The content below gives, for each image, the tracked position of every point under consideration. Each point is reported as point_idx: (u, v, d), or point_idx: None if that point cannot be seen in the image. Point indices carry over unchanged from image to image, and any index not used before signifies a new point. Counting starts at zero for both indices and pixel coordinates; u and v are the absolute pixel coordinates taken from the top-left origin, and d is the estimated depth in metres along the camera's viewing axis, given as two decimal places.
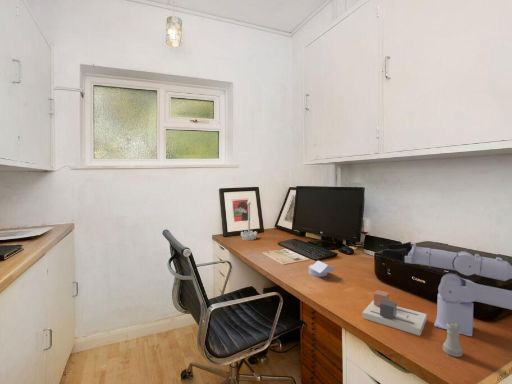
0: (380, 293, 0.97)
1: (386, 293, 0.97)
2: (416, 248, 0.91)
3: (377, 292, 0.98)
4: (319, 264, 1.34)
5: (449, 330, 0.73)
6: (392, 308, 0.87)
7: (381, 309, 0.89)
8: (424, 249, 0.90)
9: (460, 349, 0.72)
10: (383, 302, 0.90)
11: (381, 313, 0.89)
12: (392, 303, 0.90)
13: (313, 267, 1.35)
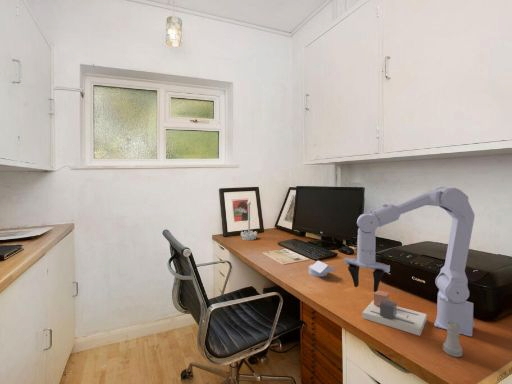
0: (380, 293, 0.97)
1: (386, 293, 0.97)
2: (367, 263, 0.91)
3: (377, 292, 0.98)
4: (319, 264, 1.34)
5: (449, 330, 0.73)
6: (392, 308, 0.87)
7: (381, 309, 0.89)
8: (367, 256, 0.91)
9: (460, 349, 0.72)
10: (383, 302, 0.90)
11: (381, 313, 0.89)
12: (392, 303, 0.90)
13: (313, 267, 1.35)
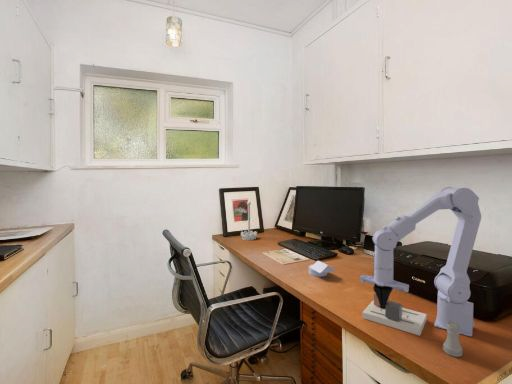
0: None
1: None
2: (385, 281, 0.88)
3: None
4: (319, 264, 1.34)
5: (449, 330, 0.73)
6: (398, 310, 0.86)
7: (386, 310, 0.88)
8: (385, 274, 0.88)
9: (460, 349, 0.72)
10: (388, 303, 0.89)
11: (386, 315, 0.88)
12: (397, 304, 0.88)
13: (313, 267, 1.35)
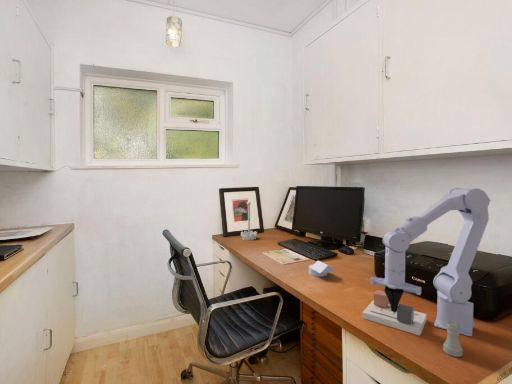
0: (380, 293, 0.97)
1: None
2: (397, 284, 0.85)
3: (377, 292, 0.98)
4: (319, 264, 1.34)
5: (449, 330, 0.73)
6: (410, 313, 0.84)
7: (398, 314, 0.86)
8: (396, 277, 0.85)
9: (460, 349, 0.72)
10: (400, 306, 0.87)
11: (398, 318, 0.86)
12: (409, 307, 0.86)
13: (313, 267, 1.35)
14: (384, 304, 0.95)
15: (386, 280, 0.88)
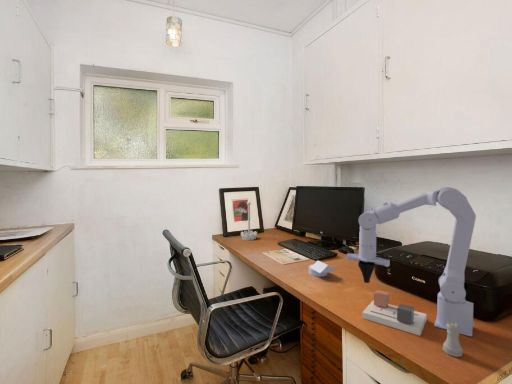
0: (380, 293, 0.97)
1: (386, 293, 0.97)
2: (368, 257, 0.97)
3: (377, 292, 0.98)
4: (319, 264, 1.34)
5: (449, 330, 0.73)
6: (410, 313, 0.84)
7: (398, 314, 0.86)
8: (368, 251, 0.97)
9: (460, 349, 0.72)
10: (400, 306, 0.87)
11: (398, 318, 0.86)
12: (409, 307, 0.86)
13: (313, 267, 1.35)
14: (384, 304, 0.95)
15: (360, 255, 0.99)
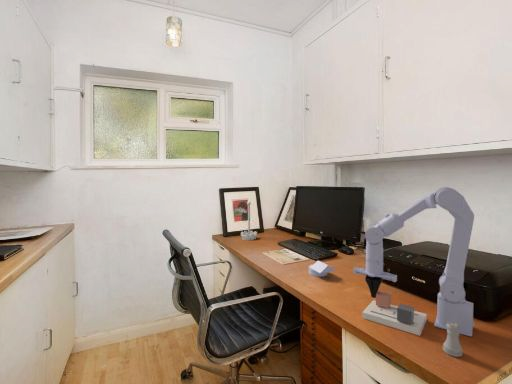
0: (382, 294, 0.97)
1: (388, 294, 0.97)
2: (375, 272, 0.96)
3: (379, 293, 0.98)
4: (319, 264, 1.34)
5: (449, 330, 0.73)
6: (410, 313, 0.84)
7: (398, 314, 0.86)
8: (375, 266, 0.96)
9: (460, 349, 0.72)
10: (400, 306, 0.87)
11: (398, 318, 0.86)
12: (409, 307, 0.86)
13: (313, 267, 1.35)
14: (386, 305, 0.95)
15: (366, 269, 0.99)
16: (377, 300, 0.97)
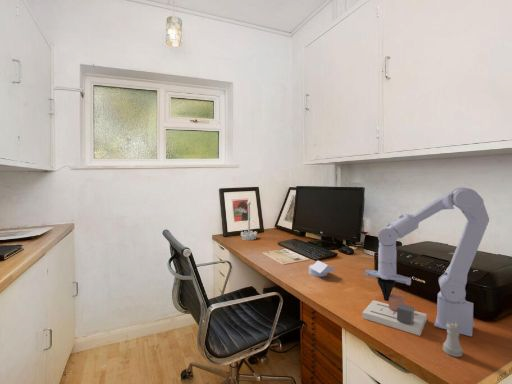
0: (395, 297, 0.94)
1: (402, 297, 0.94)
2: (388, 275, 0.93)
3: (392, 296, 0.95)
4: (319, 264, 1.34)
5: (449, 330, 0.73)
6: (410, 313, 0.84)
7: (398, 314, 0.86)
8: (388, 268, 0.93)
9: (460, 349, 0.72)
10: (400, 306, 0.87)
11: (398, 318, 0.86)
12: (409, 307, 0.86)
13: (313, 267, 1.35)
14: None
15: (379, 272, 0.96)
16: (390, 303, 0.94)
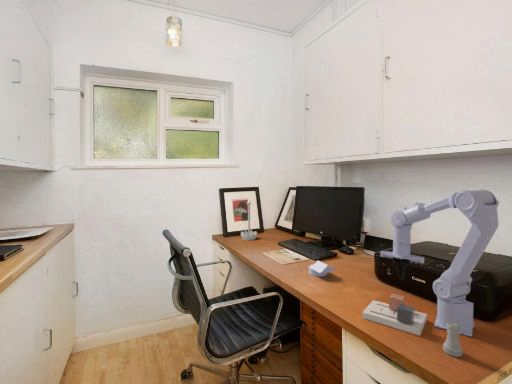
0: (396, 297, 0.94)
1: (402, 297, 0.94)
2: (403, 255, 1.00)
3: (392, 296, 0.95)
4: (319, 264, 1.34)
5: (449, 330, 0.73)
6: (410, 313, 0.84)
7: (398, 314, 0.86)
8: (403, 248, 1.00)
9: (460, 349, 0.72)
10: (400, 306, 0.87)
11: (398, 318, 0.86)
12: (409, 307, 0.86)
13: (313, 267, 1.35)
14: None
15: (394, 252, 1.03)
16: (390, 303, 0.94)
